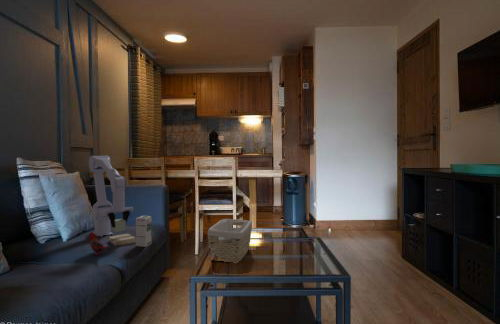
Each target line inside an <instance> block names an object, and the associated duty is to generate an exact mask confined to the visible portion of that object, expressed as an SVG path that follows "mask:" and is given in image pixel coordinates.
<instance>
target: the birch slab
mask: <svg viewBox="0 0 500 324" xmlns="http://www.w3.org/2000/svg"><path fill="white" fill-rule="evenodd" d="M109 240H110V241H111V242H113V243H114V244H115V245H121V246H125V245H130V244H134V243H136V237H135V236H133V235H131V234H130V233H123V234H117V235H112V236H111V235H110V236H108V241H109ZM115 245H114V246H115Z"/></svg>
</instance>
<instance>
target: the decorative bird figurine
mask: <svg viewBox="0 0 500 324" xmlns="http://www.w3.org/2000/svg"><path fill="white" fill-rule="evenodd" d="M93 232H94V231H93ZM93 232H89V235H88V237H89V245H90V247H91V249H92V251H93V254H94V255H95V256H98V257H99V254H100V253H102V252H103V251H104V250H106V249H109V247H108V246H104V244H103V243H102V241H100V239H98V238H97V237H98V236H97V235H95V234H94V233H93Z"/></svg>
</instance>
